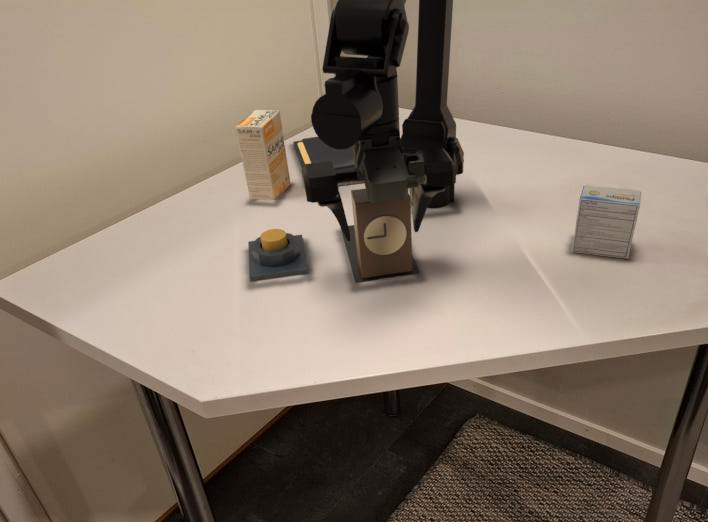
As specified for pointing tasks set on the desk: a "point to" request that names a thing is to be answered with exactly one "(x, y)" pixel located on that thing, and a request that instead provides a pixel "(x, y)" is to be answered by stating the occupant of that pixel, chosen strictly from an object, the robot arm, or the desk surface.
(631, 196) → the medicine box
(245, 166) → the supplement box
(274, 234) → the button
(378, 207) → the alarm clock
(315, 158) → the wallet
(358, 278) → the dark grey flat slab
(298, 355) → the desk surface
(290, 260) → the switch block
